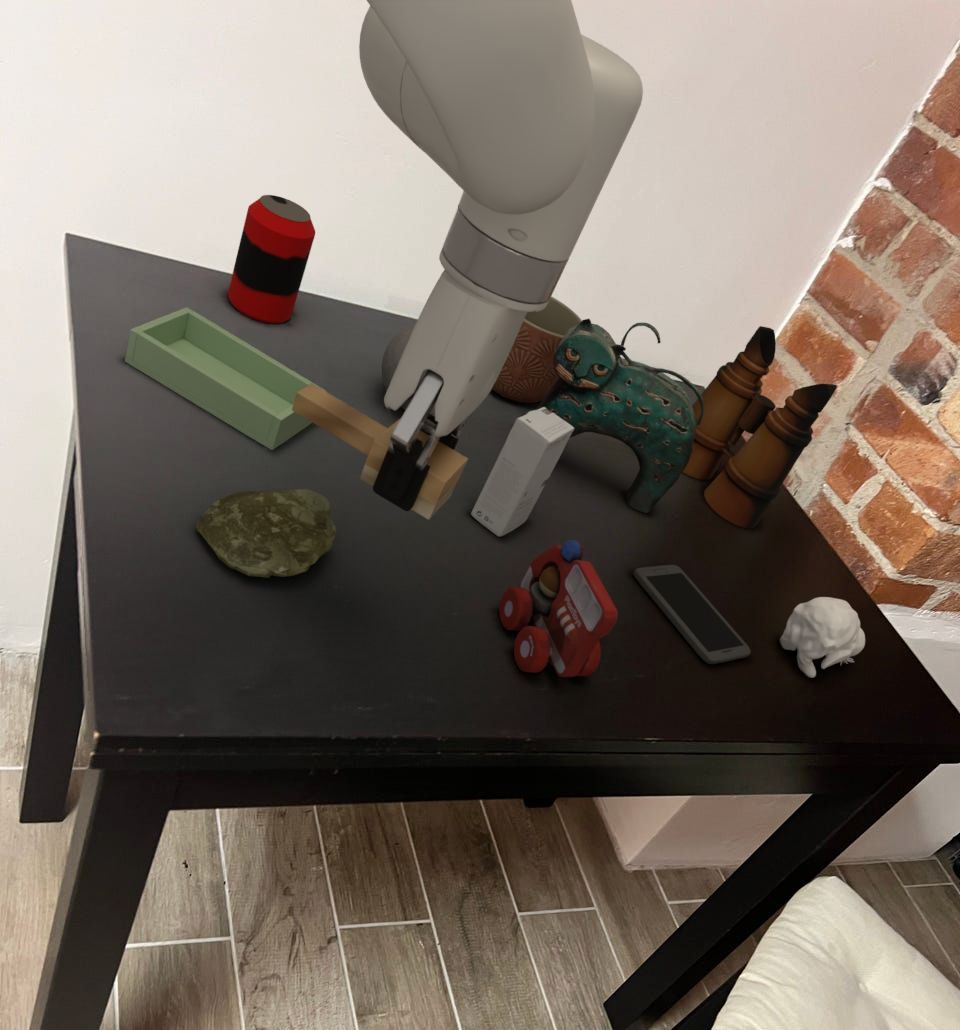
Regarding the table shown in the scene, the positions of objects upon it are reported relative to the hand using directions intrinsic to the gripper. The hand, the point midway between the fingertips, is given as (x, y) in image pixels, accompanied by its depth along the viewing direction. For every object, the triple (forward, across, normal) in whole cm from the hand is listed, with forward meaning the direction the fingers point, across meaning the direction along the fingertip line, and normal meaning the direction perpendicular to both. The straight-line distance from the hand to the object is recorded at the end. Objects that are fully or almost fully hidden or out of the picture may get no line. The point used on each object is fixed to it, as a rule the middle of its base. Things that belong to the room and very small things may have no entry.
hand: (407, 483), depth 68 cm
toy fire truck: (+14, -9, +15) cm, 23 cm away
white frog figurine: (+14, -34, +43) cm, 56 cm away
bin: (+14, -18, -25) cm, 34 cm away
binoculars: (+15, -61, +25) cm, 67 cm away
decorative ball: (+14, -36, -11) cm, 40 cm away
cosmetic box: (+14, -25, +5) cm, 29 cm away
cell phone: (+14, -28, +28) cm, 42 cm away
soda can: (+14, -38, -33) cm, 52 cm away
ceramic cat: (+14, -43, +10) cm, 46 cm away
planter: (+14, -55, -5) cm, 57 cm away
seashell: (+14, -2, -10) cm, 17 cm away
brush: (0, 0, -3) cm, 4 cm away
